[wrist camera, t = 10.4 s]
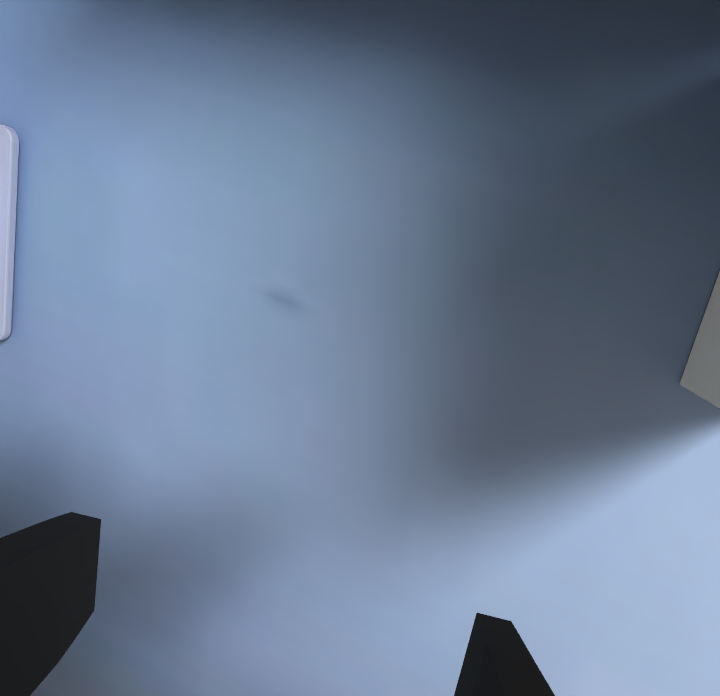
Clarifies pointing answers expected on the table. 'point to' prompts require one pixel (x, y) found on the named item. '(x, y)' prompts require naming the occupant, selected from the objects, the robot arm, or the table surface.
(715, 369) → the door frame
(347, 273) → the table surface
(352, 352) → the table surface
